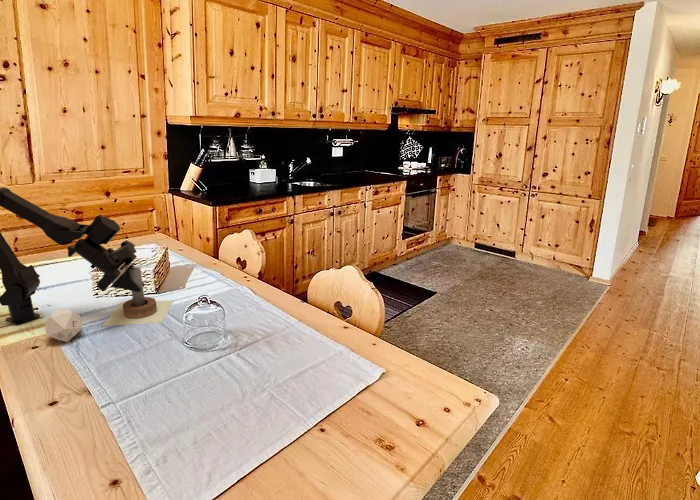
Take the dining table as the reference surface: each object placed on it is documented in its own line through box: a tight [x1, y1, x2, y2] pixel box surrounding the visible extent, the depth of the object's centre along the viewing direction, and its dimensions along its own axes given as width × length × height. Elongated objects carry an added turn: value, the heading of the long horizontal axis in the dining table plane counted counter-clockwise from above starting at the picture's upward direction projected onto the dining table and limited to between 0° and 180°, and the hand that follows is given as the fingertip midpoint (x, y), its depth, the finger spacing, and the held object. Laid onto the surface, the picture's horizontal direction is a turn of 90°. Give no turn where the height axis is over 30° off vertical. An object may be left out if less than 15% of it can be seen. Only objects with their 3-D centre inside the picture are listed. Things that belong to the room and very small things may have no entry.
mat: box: [102, 299, 174, 327], centre depth 136 cm, size 16×16×1 cm
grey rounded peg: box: [129, 267, 145, 307], centre depth 133 cm, size 3×3×13 cm
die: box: [44, 308, 84, 343], centre depth 120 cm, size 8×9×10 cm
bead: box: [123, 296, 157, 319], centre depth 135 cm, size 9×9×3 cm
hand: (141, 288), depth 133 cm, fingers closed on grey rounded peg, 3 cm apart
